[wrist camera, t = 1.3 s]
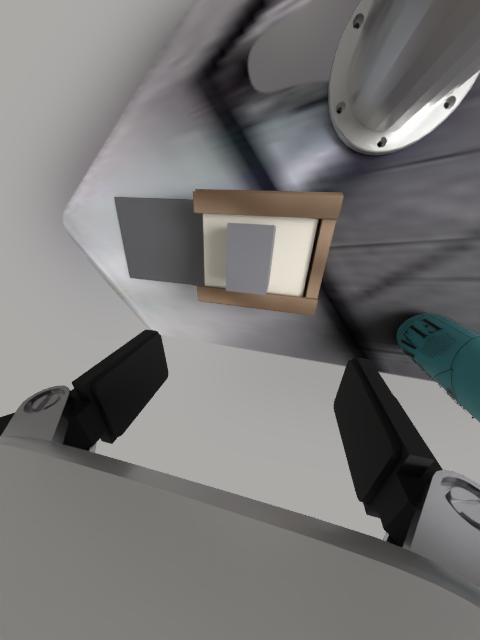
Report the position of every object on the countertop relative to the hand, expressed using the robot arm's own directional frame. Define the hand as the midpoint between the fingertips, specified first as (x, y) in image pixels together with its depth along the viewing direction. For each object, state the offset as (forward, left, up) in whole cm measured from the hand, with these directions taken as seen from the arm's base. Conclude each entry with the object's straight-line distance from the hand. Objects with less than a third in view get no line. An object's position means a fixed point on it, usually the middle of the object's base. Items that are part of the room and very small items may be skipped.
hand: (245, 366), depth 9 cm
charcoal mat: (-4, -17, -21) cm, 28 cm away
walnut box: (-4, -1, -21) cm, 22 cm away
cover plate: (-4, -2, -15) cm, 16 cm away
